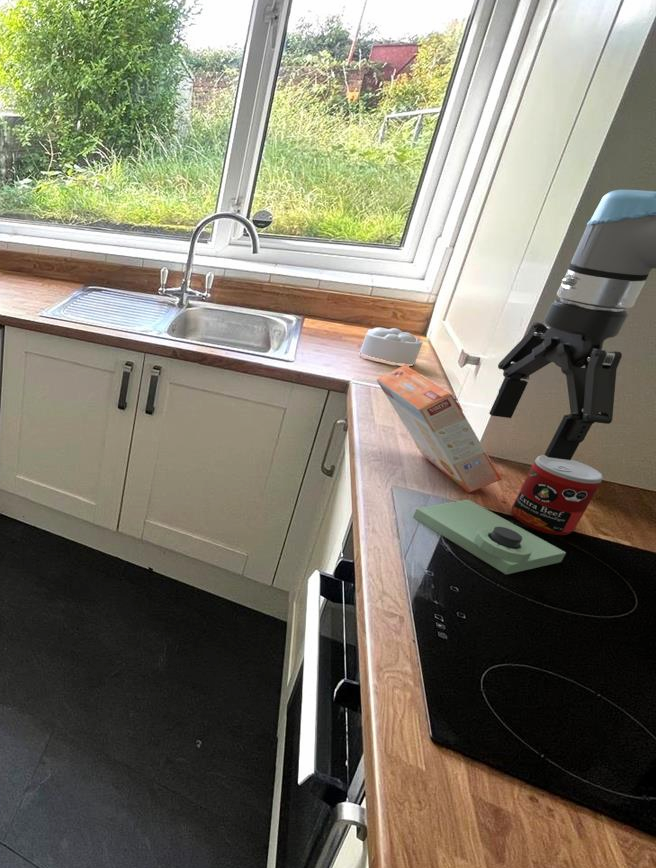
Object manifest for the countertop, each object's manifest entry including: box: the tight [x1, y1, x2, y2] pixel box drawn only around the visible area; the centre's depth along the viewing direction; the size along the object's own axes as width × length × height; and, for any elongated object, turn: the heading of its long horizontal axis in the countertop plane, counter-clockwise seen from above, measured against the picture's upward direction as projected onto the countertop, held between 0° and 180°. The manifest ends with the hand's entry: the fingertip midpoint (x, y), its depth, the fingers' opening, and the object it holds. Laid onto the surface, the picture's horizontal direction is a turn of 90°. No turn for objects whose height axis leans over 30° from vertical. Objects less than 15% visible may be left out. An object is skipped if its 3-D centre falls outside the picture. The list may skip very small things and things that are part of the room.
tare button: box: [490, 527, 522, 549], centre depth 88 cm, size 3×3×2 cm
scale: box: [412, 499, 567, 575], centre depth 93 cm, size 14×12×4 cm
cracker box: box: [376, 365, 502, 494], centre depth 109 cm, size 14×6×21 cm
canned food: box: [511, 454, 604, 536], centre depth 97 cm, size 8×8×11 cm
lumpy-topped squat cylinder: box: [359, 326, 423, 364], centre depth 168 cm, size 10×13×9 cm
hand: (526, 435), depth 90 cm, fingers open, 13 cm apart
